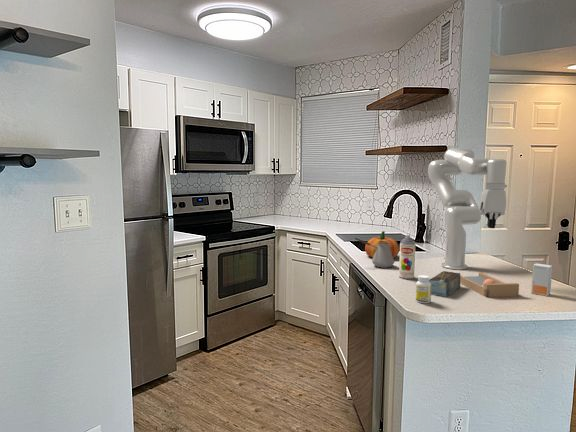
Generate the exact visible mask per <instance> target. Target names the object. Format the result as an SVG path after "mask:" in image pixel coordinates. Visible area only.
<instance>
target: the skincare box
mask: <svg viewBox="0 0 576 432" xmlns="http://www.w3.org/2000/svg"><path fill="white" fill-rule="evenodd" d="M552 276H553V265H550V264H544V263H542V264H541V263H533V266H532V279H531V290H530V293H531V294H534V295H538V294H539V296H543V295H545V296H544V297H549V296H550V295H551V290H552V280H553V279H552ZM549 294H550V295H549Z"/></svg>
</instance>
